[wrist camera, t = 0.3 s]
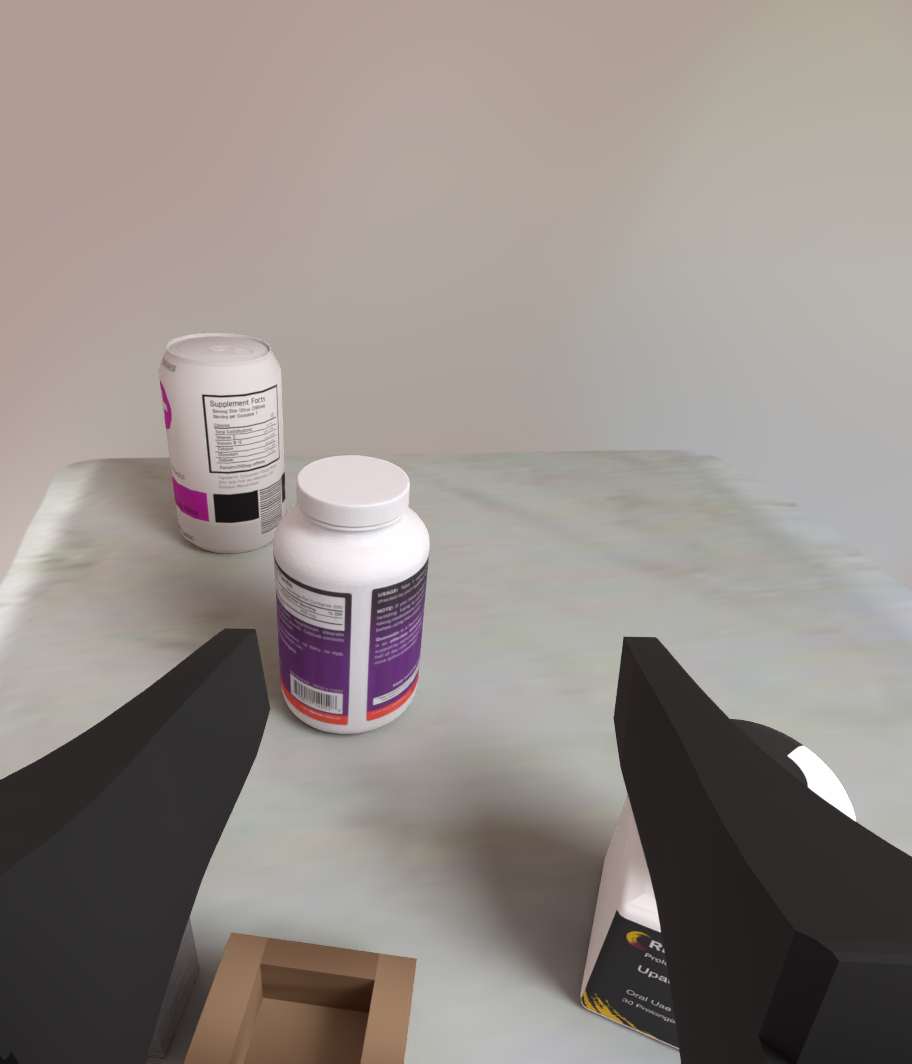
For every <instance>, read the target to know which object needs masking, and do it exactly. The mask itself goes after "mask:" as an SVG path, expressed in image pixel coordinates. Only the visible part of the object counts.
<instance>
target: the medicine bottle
mask: <svg viewBox="0 0 912 1064" xmlns="http://www.w3.org/2000/svg"><path fill="white" fill-rule="evenodd" d="M730 720H731V721H732V722H733V723H734V724H735V725H736V726H737V727H738V728H739V729H740V730H742V731H743V732H744V733H745V734H746V735H747V736H748V737H749V738H750V739H751V740H752V741H753V742H754V743H755V744H756V745H758V746H759V747H760V748H761V749H762V750H763V751H764V752H765V753H767V754H768V755H769V756H770V757H771V758H772V759H773V760H775V761H776V762H777V763H778V764H780V765H781V766H782V767H783V768H784V769H786V770H787V771H788V772H789V773H791V774H792V775H793V776H794V777H796V778H797V779H798V780H799V781H801V782H802V783H803V784H804V785H806V786H807V787H808V788H809V789H811V790H812V791H813V792H815V793H816V794H817V795H819V796H820V797H822V798H823V799H824V800H826V801H827V802H828V803H830V804H831V805H833V806H834V807H836V808H837V809H838V810H840V811H841V812H843V813H844V814H846V815H847V816H848V817H850V818H851V819H853V820H854V821H856V817H855V813H854V810H853V807H852V804H851V802H850V800H849V798H848V796H847V794H846V792H845V790H844V788H843V786H842V785H841V783H840V781H839V780H838V778H837V777H836V776H835V775H834V773H833V772H832V771H831V770H830V768H829V767H828V766H827V765H826V764H825V763H824V762H823V761H822V760H821V759H820V758H818V757H817V756H816V755H815V754H814V753H813V752H811V751H810V750H809V749H807V748H806V747H805V746H804V745H802V744H800V743H799V742H797V741H796V740H794V739H793V738H791V737H789V736H787V735H785V734H783V733H781V732H779V731H777V730H775V729H772V728H770V727H767V726H764V725H761V724H758V723H754V722H750V721H744V720H736V719H730ZM580 998H581V1003H582V1005H583V1007H585V1008H586V1009H587V1010H590V1011H592V1012H594V1013H596V1014H599V1015H601V1016H603V1017H606V1018H608V1019H610V1020H612V1021H615V1022H617V1023H619V1024H622V1025H624V1026H626V1027H628V1028H631V1029H633V1030H635V1031H637V1032H640V1033H642V1034H644V1035H647V1036H649V1037H651V1038H653V1039H656V1040H658V1041H660V1042H663V1043H665V1044H667V1045H669V1046H672V1047H674V1048H676V1049H678V1050H679V1043H678V1036H677V1029H676V1022H675V1015H674V1009H673V1003H672V996H671V990H670V984H669V977H668V971H667V964H666V958H665V952H664V946H663V940H662V934H661V929H660V923H659V917H658V911H657V905H656V900H655V896H654V891H653V887H652V882H651V878H650V874H649V870H648V867H647V863H646V859H645V856H644V852H643V848H642V845H641V841H640V837H639V834H638V830H637V826H636V823H635V819H634V815H633V812H632V808H631V804H630V801H629V797H628V795H627V798H626V801H625V803H624V806H623V809H622V812H621V815H620V817H619V820H618V823H617V826H616V829H615V831H614V834H613V837H612V840H611V843H610V845H609V848H608V851H607V854H606V856H605V860H604V866H603V871H602V877H601V882H600V888H599V894H598V899H597V905H596V910H595V916H594V921H593V927H592V932H591V938H590V944H589V949H588V955H587V960H586V966H585V971H584V977H583V982H582V988H581V993H580Z"/></svg>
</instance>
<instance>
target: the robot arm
mask: <svg viewBox="0 0 912 1064" xmlns="http://www.w3.org/2000/svg"><path fill="white" fill-rule="evenodd" d="M269 711H270V705H269V700H268V695H267V689H266V684H265V679H264V673H263V668H262V663H261V657H260V652H259V647H258V641H257V636H256V631H255V629H224V630H223V631H221V632H220V633H218V634H217V635H216V636H214V637H213V638H212V639H210V640H209V641H208V642H206V643H205V644H204V645H203V646H201V647H200V648H199V649H197V650H196V651H195V652H194V653H192V654H191V655H190V656H189V657H187V658H186V659H185V660H183V661H182V662H181V663H180V664H178V665H177V666H176V667H175V668H173V669H172V670H171V671H169V672H168V673H167V674H165V675H164V676H163V677H162V678H160V679H159V680H158V681H156V682H155V683H154V684H152V685H151V686H150V687H149V688H147V689H146V690H145V691H143V692H142V693H140V694H139V695H138V696H136V697H135V698H133V699H132V700H131V701H129V702H128V703H126V704H125V705H123V706H122V707H121V708H119V709H118V710H116V711H115V712H114V713H112V714H111V715H109V716H108V717H106V718H105V719H104V720H102V721H101V722H99V723H98V724H96V725H95V726H93V727H92V728H90V729H89V730H87V731H86V732H84V733H82V734H81V735H79V736H78V737H76V738H75V739H73V740H71V741H70V742H68V743H66V744H65V745H63V746H61V747H60V748H58V749H56V750H55V751H53V752H51V753H50V754H48V755H46V756H44V757H43V758H41V759H39V760H37V761H36V762H34V763H32V764H30V765H28V766H26V767H24V768H22V769H20V770H18V771H17V772H15V773H13V774H11V775H9V776H7V777H5V778H3V779H1V780H0V1064H146V1060H147V1056H148V1053H149V1049H150V1046H151V1042H152V1039H153V1035H154V1032H155V1028H156V1025H157V1021H158V1017H159V1014H160V1010H161V1007H162V1003H163V1000H164V996H165V993H166V989H167V986H168V983H169V980H170V977H171V973H172V970H173V967H174V964H175V960H176V957H177V954H178V951H179V948H180V944H181V941H182V938H183V935H184V932H185V929H186V926H187V923H188V920H189V917H190V914H191V911H192V908H193V905H194V902H195V899H196V896H197V893H198V890H199V887H200V884H201V881H202V879H203V876H204V874H205V871H206V869H207V866H208V864H209V861H210V859H211V857H212V854H213V852H214V850H215V848H216V845H217V843H218V841H219V839H220V837H221V834H222V832H223V830H224V828H225V825H226V823H227V821H228V819H229V817H230V814H231V812H232V810H233V808H234V805H235V803H236V801H237V799H238V797H239V794H240V792H241V790H242V788H243V785H244V783H245V781H246V779H247V776H248V774H249V772H250V769H251V767H252V765H253V762H254V760H255V758H256V755H257V752H258V749H259V746H260V743H261V739H262V736H263V733H264V729H265V726H266V722H267V718H268V715H269ZM614 724H615V731H616V739H617V746H618V753H619V759H620V766H621V770H622V774H623V778H624V782H625V786H626V789H627V793H628V797H629V801H630V804H631V808H632V812H633V815H634V819H635V823H636V826H637V830H638V834H639V837H640V841H641V845H642V848H643V852H644V856H645V859H646V863H647V867H648V870H649V874H650V878H651V882H652V887H653V891H654V896H655V900H656V905H657V911H658V917H659V923H660V929H661V934H662V940H663V946H664V952H665V958H666V964H667V971H668V977H669V984H670V990H671V996H672V1003H673V1009H674V1015H675V1022H676V1029H677V1036H678V1043H679V1050H680V1057H681V1064H912V857H911V856H909V855H908V854H906V853H904V852H903V851H901V850H899V849H898V848H896V847H894V846H893V845H891V844H889V843H888V842H886V841H885V840H883V839H882V838H880V837H878V836H877V835H875V834H874V833H872V832H871V831H869V830H868V829H866V828H865V827H863V826H861V825H860V824H858V823H857V822H856V821H854V820H853V819H851V818H850V817H848V816H847V815H846V814H844V813H843V812H841V811H840V810H838V809H837V808H836V807H834V806H833V805H831V804H830V803H828V802H827V801H826V800H824V799H823V798H822V797H820V796H819V795H817V794H816V793H815V792H813V791H812V790H811V789H809V788H808V787H807V786H806V785H804V784H803V783H802V782H801V781H799V780H798V779H797V778H796V777H794V776H793V775H792V774H791V773H789V772H788V771H787V770H786V769H784V768H783V767H782V766H781V765H780V764H778V763H777V762H776V761H775V760H773V759H772V758H771V757H770V756H769V755H768V754H767V753H765V752H764V751H763V750H762V749H761V748H760V747H759V746H758V745H756V744H755V743H754V742H753V741H752V740H751V739H750V738H749V737H748V736H747V735H746V734H745V733H744V732H743V731H742V730H740V729H739V728H738V727H737V726H736V725H735V724H734V723H733V722H732V721H731V720H730V719H729V718H728V717H727V716H726V715H725V714H724V713H723V711H722V710H721V709H720V708H719V707H718V706H717V705H716V704H715V703H714V702H713V701H712V700H711V699H710V698H709V697H708V696H707V695H706V694H705V692H704V691H703V690H702V689H701V688H700V687H699V686H698V685H697V684H696V682H695V681H694V680H693V679H692V678H691V677H690V676H689V675H688V673H687V672H686V671H685V670H684V669H683V668H682V666H681V665H680V664H679V663H678V662H677V661H676V659H675V658H674V657H673V656H672V655H671V654H670V652H669V651H668V650H667V649H666V648H665V647H664V645H663V644H662V643H661V642H660V641H659V640H658V639H657V638H656V637H624V639H623V647H622V655H621V664H620V672H619V680H618V688H617V696H616V704H615V712H614Z"/></svg>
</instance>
